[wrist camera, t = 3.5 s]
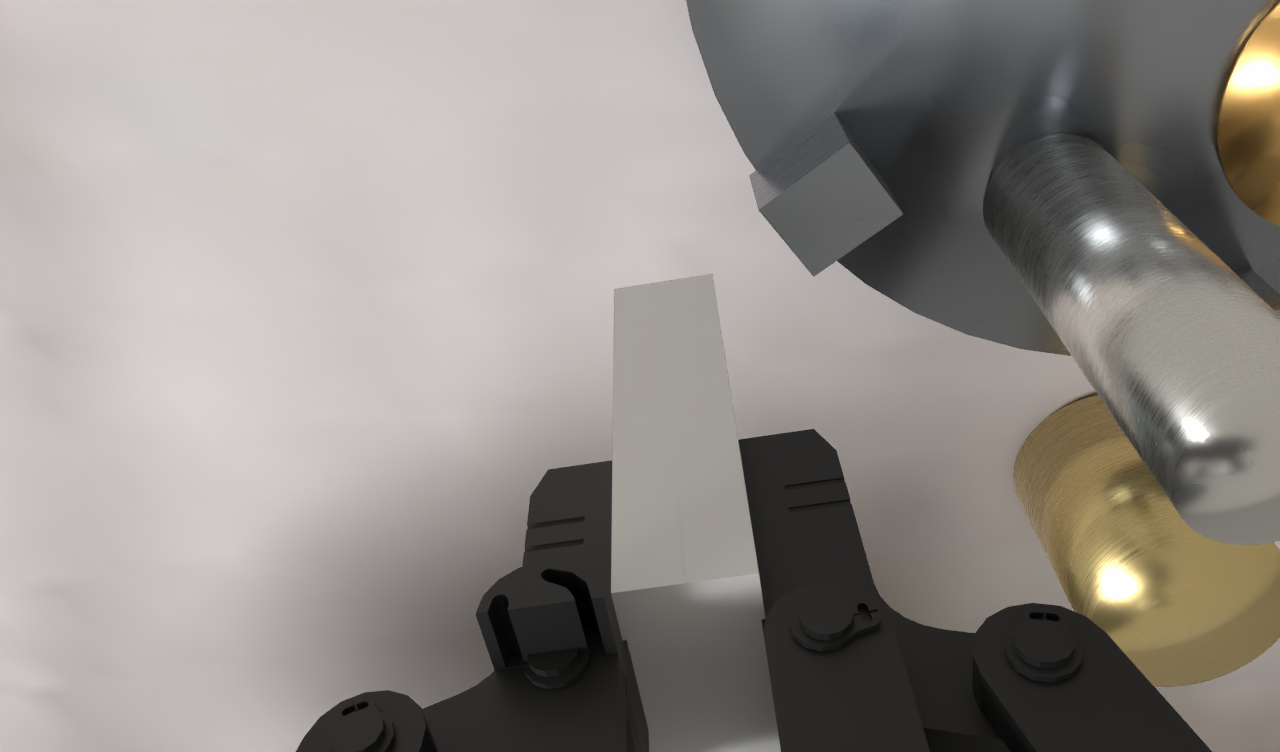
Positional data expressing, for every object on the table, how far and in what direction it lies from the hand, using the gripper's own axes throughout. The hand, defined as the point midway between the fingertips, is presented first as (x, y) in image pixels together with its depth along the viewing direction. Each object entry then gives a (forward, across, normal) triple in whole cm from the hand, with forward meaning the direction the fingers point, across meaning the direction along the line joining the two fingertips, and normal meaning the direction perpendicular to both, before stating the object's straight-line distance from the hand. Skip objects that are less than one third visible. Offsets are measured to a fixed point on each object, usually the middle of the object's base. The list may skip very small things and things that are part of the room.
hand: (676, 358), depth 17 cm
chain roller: (+6, +9, -8) cm, 14 cm away
